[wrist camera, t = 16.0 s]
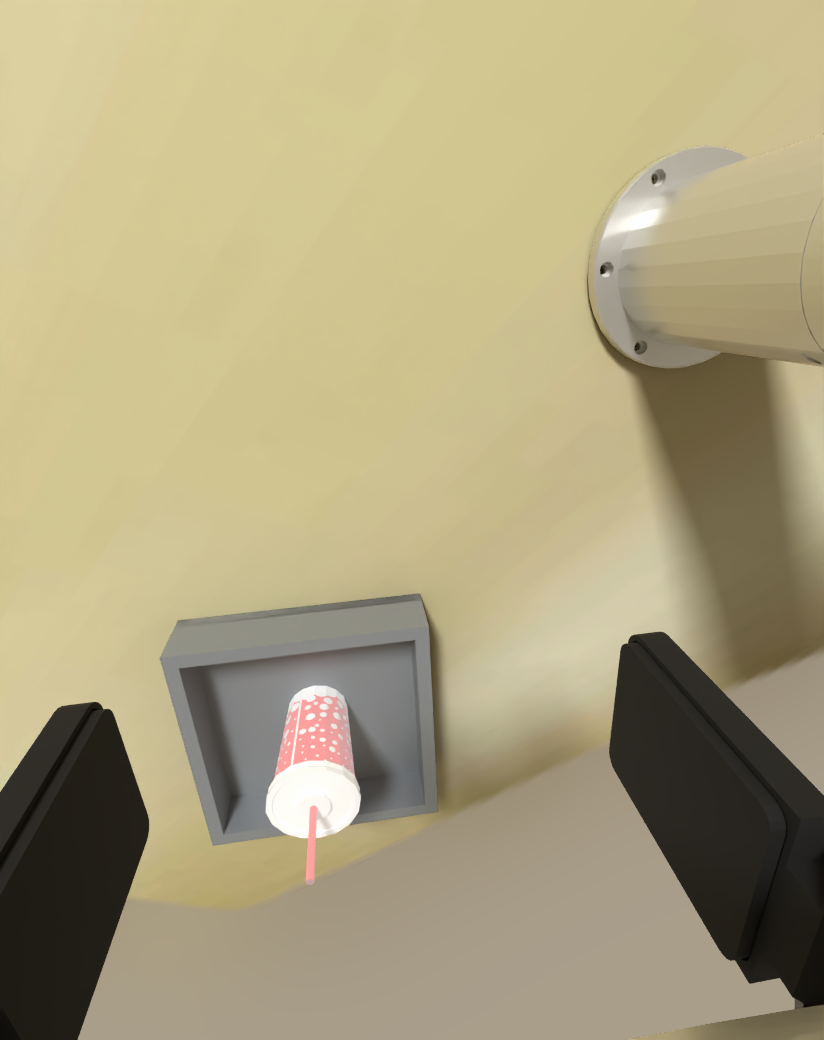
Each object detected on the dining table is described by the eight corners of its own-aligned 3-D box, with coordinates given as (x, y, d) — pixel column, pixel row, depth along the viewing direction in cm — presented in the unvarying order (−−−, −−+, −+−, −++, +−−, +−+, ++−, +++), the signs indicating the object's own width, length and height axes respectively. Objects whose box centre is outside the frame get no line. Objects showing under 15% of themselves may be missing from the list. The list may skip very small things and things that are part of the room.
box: (419, 593, 42) (428, 626, 38) (429, 767, 49) (437, 811, 45) (178, 620, 40) (159, 658, 36) (223, 797, 47) (212, 845, 43)
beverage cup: (303, 749, 45) (290, 931, 32) (263, 698, 42) (231, 873, 30) (369, 717, 45) (382, 889, 32) (333, 665, 42) (331, 828, 29)
